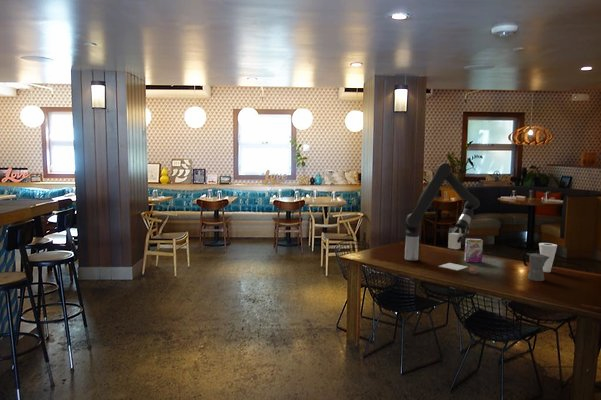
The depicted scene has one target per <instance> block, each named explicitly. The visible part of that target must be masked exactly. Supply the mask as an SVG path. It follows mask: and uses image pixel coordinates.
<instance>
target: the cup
mask: <svg viewBox="0 0 601 400" xmlns="http://www.w3.org/2000/svg"><path fill="white" fill-rule="evenodd" d="M538 246H539V247H538V248H539V254H542V255H545V256H548V257H549V258H548V259H547V261H546V262H545V263H544V267H543V272H544V273H551V271H552V266H553V263H554V260H555V255H556V252H557V248H558V244H555V243H551V242H550V243H549V242H539V243H538Z"/></svg>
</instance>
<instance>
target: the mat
mask: <svg viewBox="0 0 601 400" xmlns="http://www.w3.org/2000/svg"><path fill="white" fill-rule="evenodd" d="M438 267H439V268H443V269H449V270H452V271H458V272H459V271H461V270H464V269H467V268H468V266H466V265H461V264H456V263H452V262H448V263H443V264H441V265H438Z"/></svg>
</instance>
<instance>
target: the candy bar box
mask: <svg viewBox="0 0 601 400" xmlns="http://www.w3.org/2000/svg"><path fill="white" fill-rule="evenodd" d="M483 247H484V240H483V239H481V238H465V245H464V262H465V263H476V262H480V263H482V262H483V261H482V260H483V249H484V248H483Z"/></svg>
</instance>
